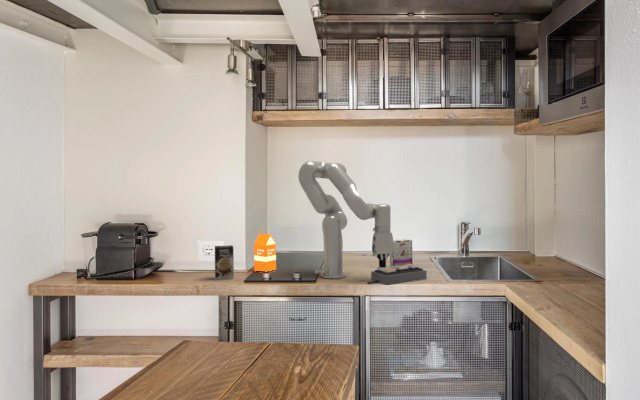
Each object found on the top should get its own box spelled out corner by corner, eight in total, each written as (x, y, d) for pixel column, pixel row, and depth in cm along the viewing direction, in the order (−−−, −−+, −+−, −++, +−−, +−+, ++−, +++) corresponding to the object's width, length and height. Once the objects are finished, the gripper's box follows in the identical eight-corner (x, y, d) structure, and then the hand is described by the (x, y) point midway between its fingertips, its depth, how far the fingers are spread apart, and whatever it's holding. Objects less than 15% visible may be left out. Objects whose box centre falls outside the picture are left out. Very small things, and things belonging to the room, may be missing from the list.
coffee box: (215, 280, 218) (214, 247, 217) (214, 277, 224) (214, 245, 223) (234, 279, 220) (233, 246, 219) (233, 276, 227) (232, 244, 226)
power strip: (374, 286, 202) (374, 276, 201) (360, 281, 212) (359, 271, 212) (426, 278, 216) (426, 269, 216) (410, 274, 226) (410, 264, 226)
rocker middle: (399, 269, 211) (399, 266, 211) (389, 269, 218) (389, 266, 218) (408, 268, 213) (408, 265, 213) (398, 268, 220) (397, 265, 220)
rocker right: (412, 267, 214) (412, 264, 214) (402, 267, 221) (401, 265, 221) (420, 266, 216) (420, 263, 216) (410, 266, 223) (409, 264, 224)
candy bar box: (408, 269, 239) (408, 238, 238) (412, 271, 234) (412, 240, 233) (389, 270, 236) (389, 239, 235) (393, 272, 231) (393, 241, 230)
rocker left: (387, 272, 207) (387, 269, 207) (377, 269, 214) (377, 266, 214) (395, 271, 209) (395, 268, 209) (385, 268, 216) (385, 265, 216)
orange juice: (266, 273, 233) (265, 235, 232) (254, 271, 238) (253, 234, 237) (276, 270, 239) (275, 233, 238) (264, 268, 244) (263, 232, 243)
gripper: (374, 231, 207) (374, 270, 208) (399, 229, 214) (399, 267, 215) (365, 230, 214) (365, 267, 215) (390, 228, 221) (390, 264, 222)
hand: (382, 267), depth 215 cm, fingers closed
